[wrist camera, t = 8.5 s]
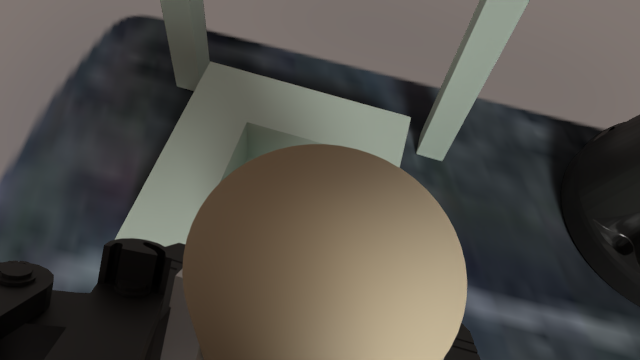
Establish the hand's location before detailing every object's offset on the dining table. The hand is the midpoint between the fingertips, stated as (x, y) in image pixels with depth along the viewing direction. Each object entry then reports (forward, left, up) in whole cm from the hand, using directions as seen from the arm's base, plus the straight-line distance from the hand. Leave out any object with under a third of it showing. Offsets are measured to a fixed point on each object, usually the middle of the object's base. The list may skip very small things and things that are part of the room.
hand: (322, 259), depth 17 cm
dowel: (0, +4, -3) cm, 5 cm away
